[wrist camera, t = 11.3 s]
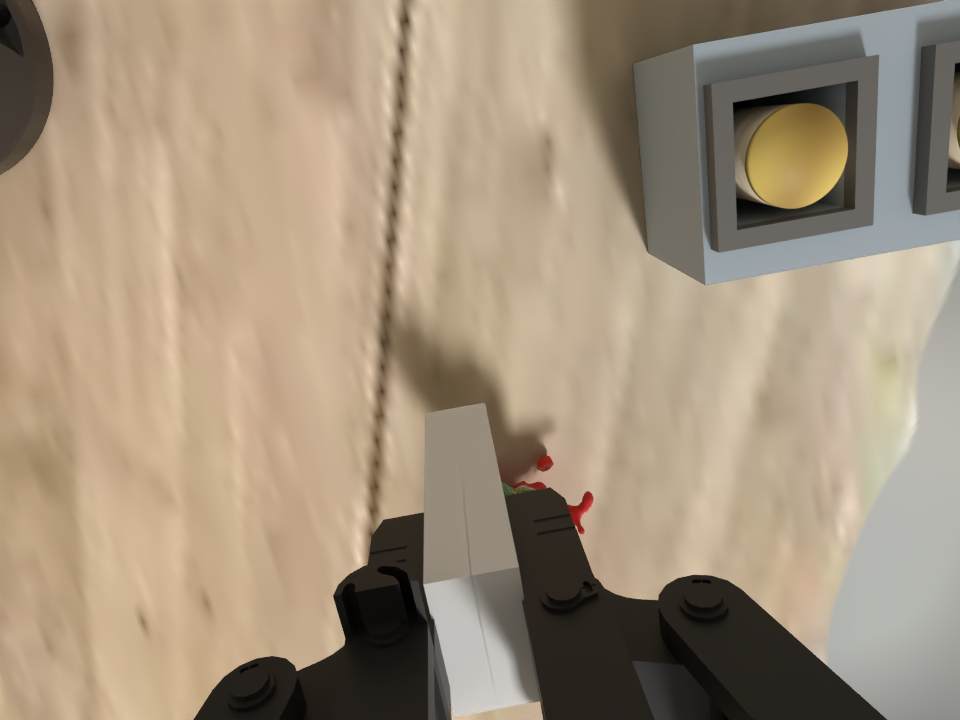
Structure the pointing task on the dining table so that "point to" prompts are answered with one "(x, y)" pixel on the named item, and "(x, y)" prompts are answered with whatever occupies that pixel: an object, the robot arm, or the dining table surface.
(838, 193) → the socket block
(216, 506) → the dining table surface
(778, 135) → the peg
